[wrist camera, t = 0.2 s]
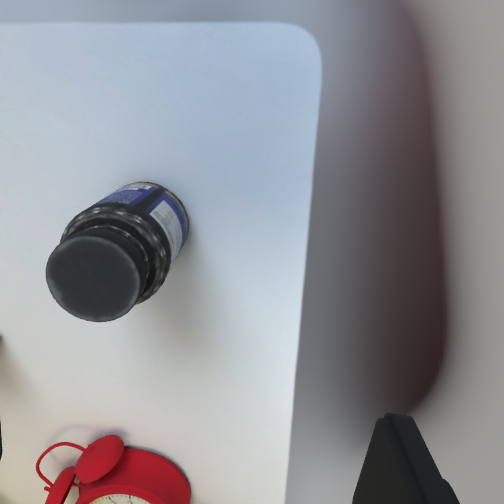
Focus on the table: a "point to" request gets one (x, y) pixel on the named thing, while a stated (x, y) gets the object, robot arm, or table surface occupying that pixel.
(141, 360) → the table surface
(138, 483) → the alarm clock
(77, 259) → the pill bottle
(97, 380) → the table surface
